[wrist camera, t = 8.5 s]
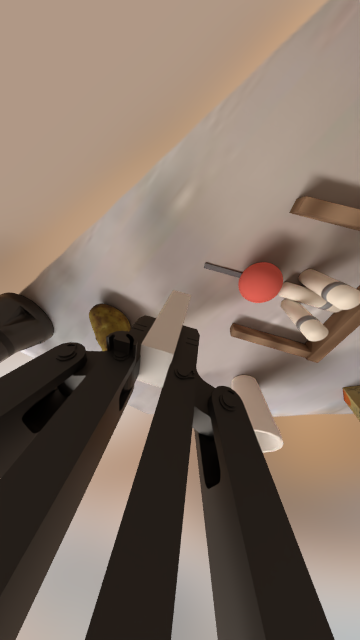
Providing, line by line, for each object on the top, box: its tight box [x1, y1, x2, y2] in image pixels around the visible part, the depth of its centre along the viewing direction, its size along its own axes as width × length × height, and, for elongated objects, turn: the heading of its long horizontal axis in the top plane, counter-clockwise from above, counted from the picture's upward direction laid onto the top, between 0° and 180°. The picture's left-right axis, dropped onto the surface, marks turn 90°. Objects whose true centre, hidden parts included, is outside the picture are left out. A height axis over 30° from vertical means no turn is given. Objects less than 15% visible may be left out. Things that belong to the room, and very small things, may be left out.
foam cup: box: [231, 375, 283, 452], centre depth 35 cm, size 10×9×13 cm
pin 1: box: [281, 298, 328, 341], centre depth 23 cm, size 2×2×9 cm
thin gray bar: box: [204, 263, 242, 278], centre depth 26 cm, size 8×1×1 cm, turn 77°
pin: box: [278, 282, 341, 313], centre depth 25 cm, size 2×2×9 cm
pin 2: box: [299, 269, 360, 310], centre depth 20 cm, size 2×2×9 cm
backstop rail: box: [230, 196, 360, 363], centre depth 24 cm, size 17×22×3 cm
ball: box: [239, 262, 283, 303], centre depth 23 cm, size 6×6×6 cm
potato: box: [89, 304, 131, 351], centre depth 33 cm, size 8×13×8 cm, turn 15°
